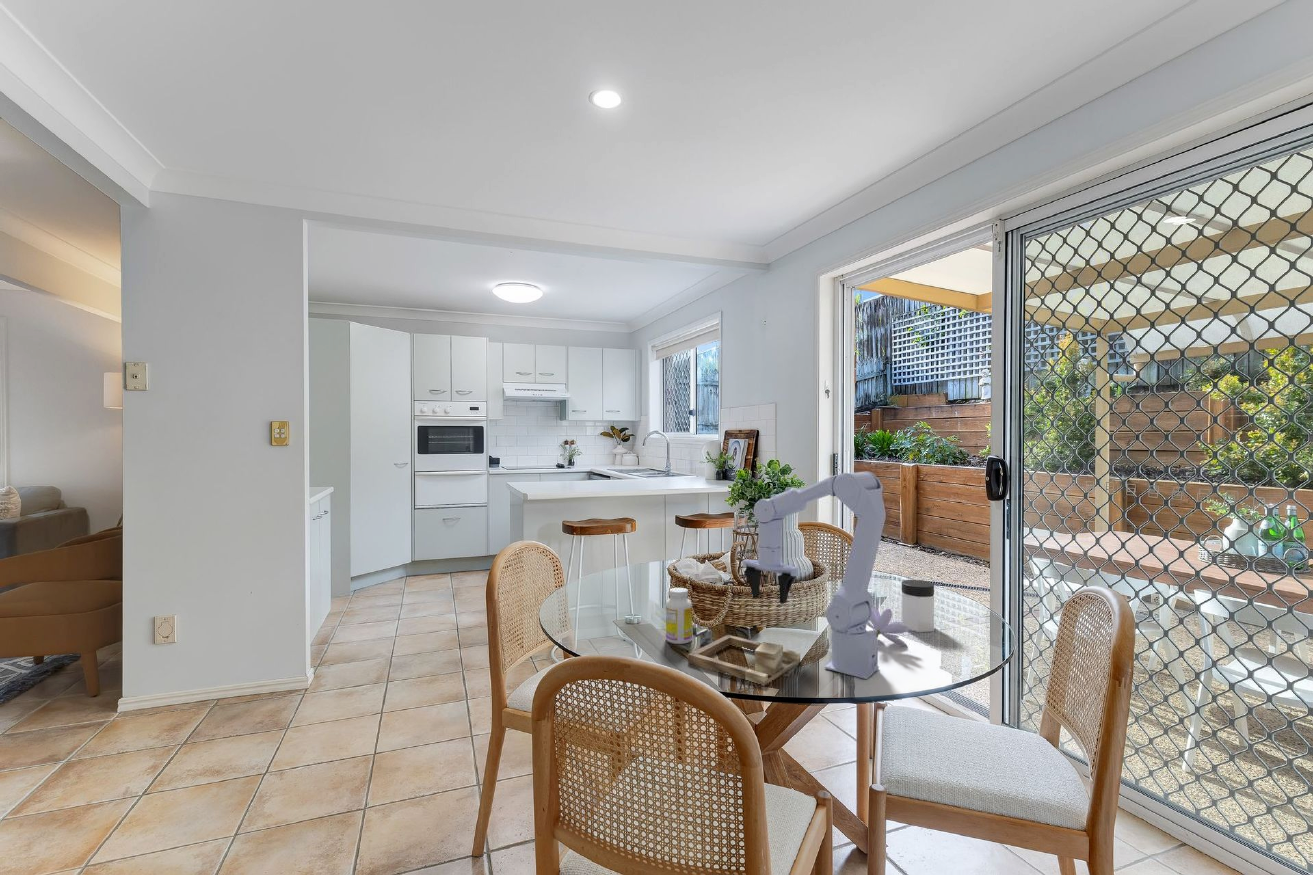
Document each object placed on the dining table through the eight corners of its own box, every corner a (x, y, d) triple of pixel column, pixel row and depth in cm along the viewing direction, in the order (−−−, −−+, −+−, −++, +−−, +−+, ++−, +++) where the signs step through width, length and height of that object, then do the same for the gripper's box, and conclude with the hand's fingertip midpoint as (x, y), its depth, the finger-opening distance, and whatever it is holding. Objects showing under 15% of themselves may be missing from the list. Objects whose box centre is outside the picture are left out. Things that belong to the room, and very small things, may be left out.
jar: (940, 628, 162) (941, 584, 162) (926, 635, 157) (926, 589, 157) (909, 620, 169) (909, 577, 169) (893, 626, 164) (894, 582, 163)
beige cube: (782, 666, 136) (783, 644, 135) (774, 677, 130) (774, 654, 130) (763, 663, 138) (763, 641, 138) (754, 673, 132) (754, 650, 132)
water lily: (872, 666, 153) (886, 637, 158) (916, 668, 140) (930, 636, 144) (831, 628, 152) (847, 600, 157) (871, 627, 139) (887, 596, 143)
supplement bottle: (690, 635, 155) (691, 586, 155) (693, 644, 149) (693, 593, 149) (664, 635, 155) (665, 586, 155) (666, 645, 149) (666, 593, 148)
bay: (800, 661, 138) (800, 653, 138) (764, 686, 125) (764, 676, 125) (727, 642, 151) (727, 634, 151) (688, 662, 137) (688, 654, 137)
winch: (704, 641, 151) (704, 619, 151) (714, 643, 149) (714, 622, 149) (688, 649, 146) (688, 627, 146) (698, 652, 144) (698, 629, 144)
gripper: (803, 547, 150) (803, 601, 150) (752, 540, 159) (752, 591, 159) (790, 551, 144) (790, 608, 145) (738, 544, 153) (738, 597, 154)
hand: (769, 600), depth 152 cm, fingers open, 7 cm apart
